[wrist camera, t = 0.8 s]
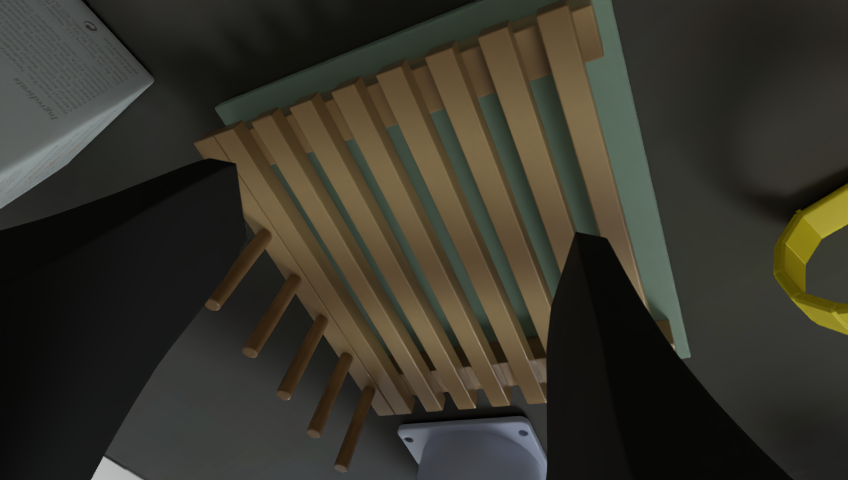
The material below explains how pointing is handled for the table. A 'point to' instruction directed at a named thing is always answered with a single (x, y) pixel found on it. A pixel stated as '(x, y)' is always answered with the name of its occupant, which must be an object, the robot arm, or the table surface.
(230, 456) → the table surface
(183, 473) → the table surface
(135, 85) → the small box
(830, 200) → the watch
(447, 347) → the dish rack
